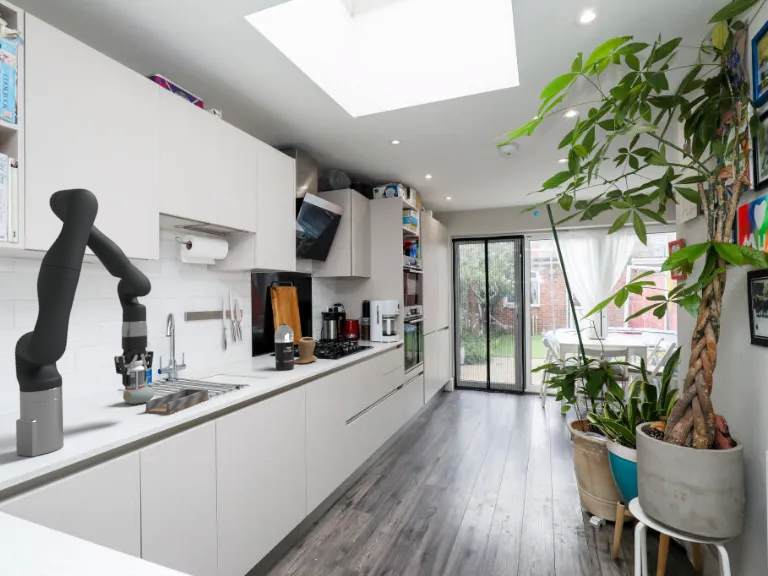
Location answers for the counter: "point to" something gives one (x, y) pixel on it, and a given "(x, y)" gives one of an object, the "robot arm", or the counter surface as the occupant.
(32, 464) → the counter surface
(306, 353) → the stone cup
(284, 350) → the black labeled bottle
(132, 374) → the pill bottle
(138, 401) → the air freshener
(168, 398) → the grey tray
